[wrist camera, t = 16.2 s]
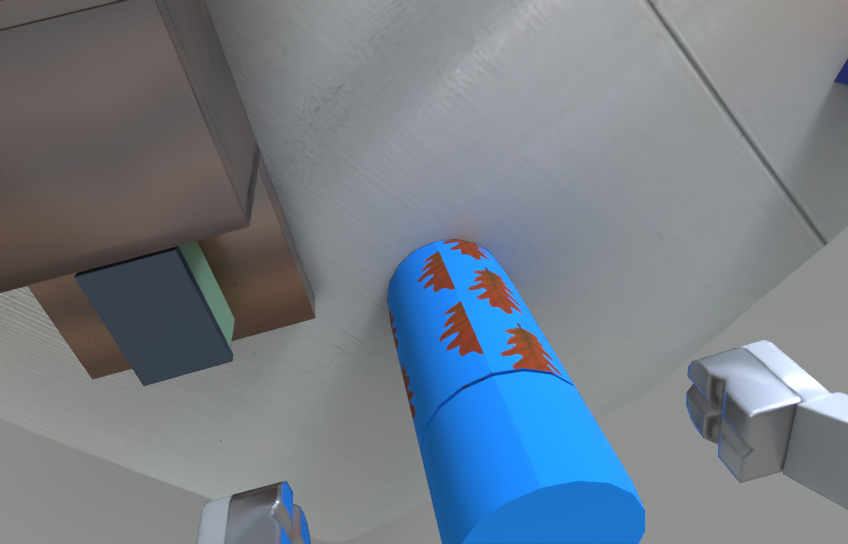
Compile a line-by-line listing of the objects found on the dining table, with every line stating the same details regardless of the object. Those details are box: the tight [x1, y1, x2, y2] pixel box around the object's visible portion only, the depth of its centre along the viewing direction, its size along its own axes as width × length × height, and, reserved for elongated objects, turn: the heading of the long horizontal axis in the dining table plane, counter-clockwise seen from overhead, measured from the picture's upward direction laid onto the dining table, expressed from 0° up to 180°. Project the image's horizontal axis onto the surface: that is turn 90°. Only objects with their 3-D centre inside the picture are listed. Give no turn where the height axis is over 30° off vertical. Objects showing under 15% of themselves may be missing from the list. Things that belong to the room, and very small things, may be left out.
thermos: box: [388, 239, 645, 544], centre depth 40 cm, size 11×11×25 cm
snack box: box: [74, 241, 235, 386], centre depth 40 cm, size 9×6×5 cm
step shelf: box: [0, 0, 315, 379], centre depth 35 cm, size 26×18×16 cm
